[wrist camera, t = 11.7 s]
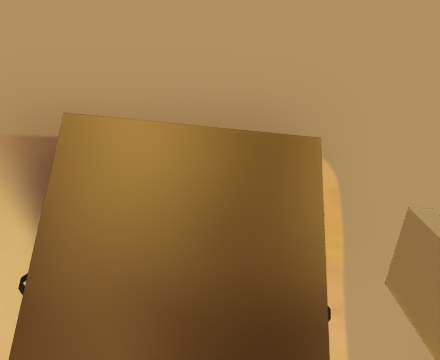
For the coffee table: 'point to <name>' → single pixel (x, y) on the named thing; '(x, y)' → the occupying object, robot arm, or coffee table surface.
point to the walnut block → (177, 246)
